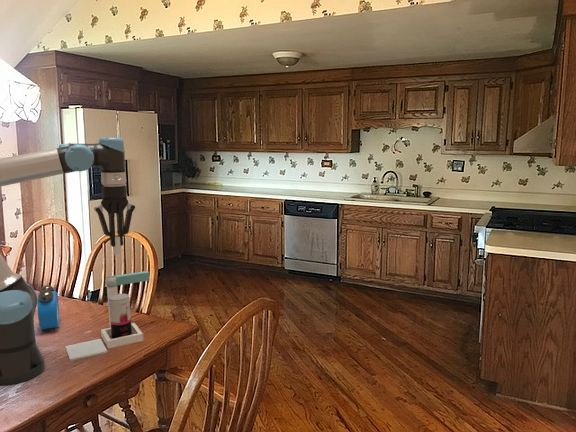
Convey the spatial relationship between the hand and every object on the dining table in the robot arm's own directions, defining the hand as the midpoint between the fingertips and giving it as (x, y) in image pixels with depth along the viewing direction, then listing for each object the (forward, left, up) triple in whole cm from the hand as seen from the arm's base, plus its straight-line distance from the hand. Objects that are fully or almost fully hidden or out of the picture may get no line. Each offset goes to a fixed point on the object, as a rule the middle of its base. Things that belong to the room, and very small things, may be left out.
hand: (117, 255), depth 162 cm
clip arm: (+5, +10, -13) cm, 17 cm away
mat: (-13, -4, -29) cm, 32 cm away
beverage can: (-1, -1, -29) cm, 29 cm away
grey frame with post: (-1, +2, -29) cm, 29 cm away
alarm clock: (-21, +23, -29) cm, 42 cm away
